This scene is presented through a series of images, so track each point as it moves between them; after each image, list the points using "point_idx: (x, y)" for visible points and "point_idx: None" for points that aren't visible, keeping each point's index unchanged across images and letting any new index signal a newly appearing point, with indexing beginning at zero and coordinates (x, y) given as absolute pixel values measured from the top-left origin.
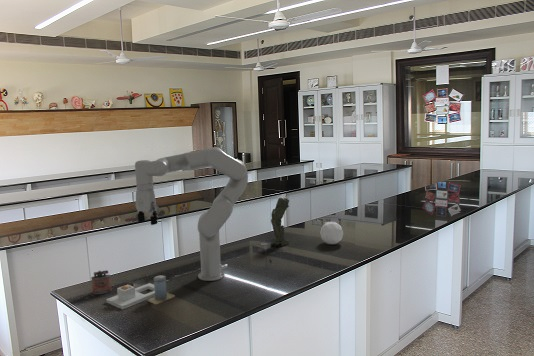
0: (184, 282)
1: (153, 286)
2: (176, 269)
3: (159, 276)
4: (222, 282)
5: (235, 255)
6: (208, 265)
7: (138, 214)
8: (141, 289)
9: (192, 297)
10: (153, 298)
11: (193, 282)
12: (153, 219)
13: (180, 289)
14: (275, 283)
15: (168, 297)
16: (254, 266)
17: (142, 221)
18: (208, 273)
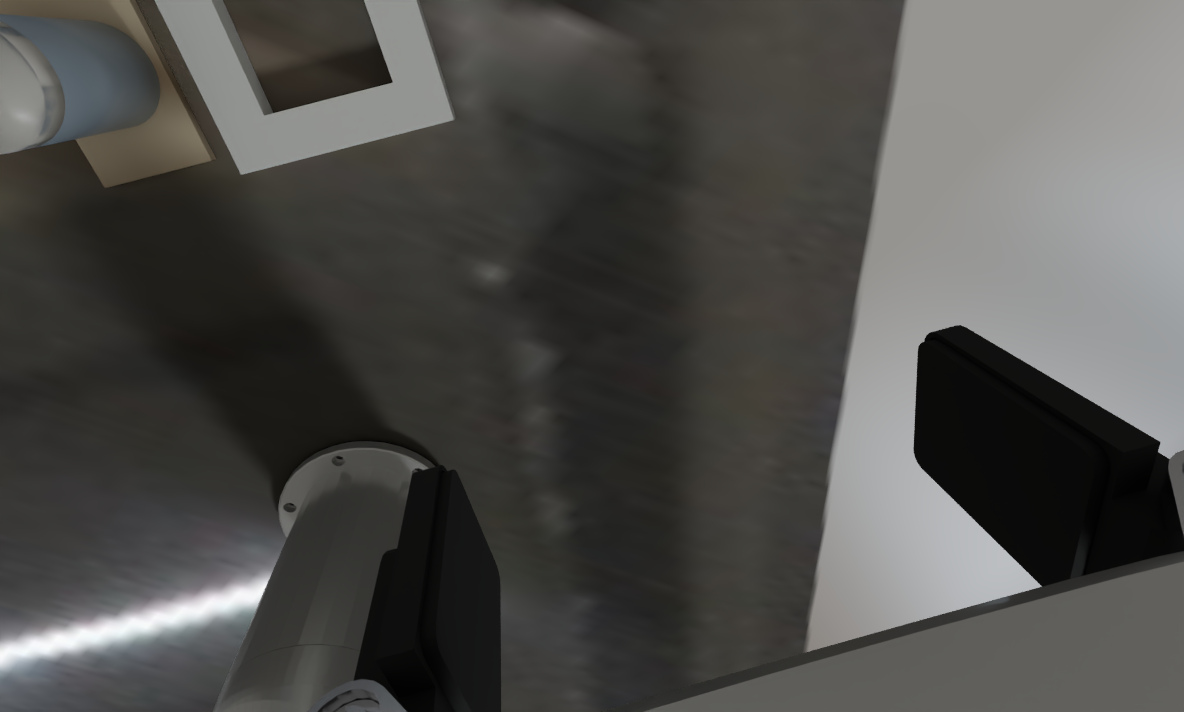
0: (371, 347)
1: (352, 113)
2: (646, 395)
3: (12, 99)
4: (230, 518)
5: (610, 693)
6: (285, 550)
7: (1111, 446)
8: (367, 5)
9: (36, 281)
10: (113, 11)
11: (335, 391)
12: (373, 620)
13: (248, 275)
14: (62, 699)
15: None
16: None
17: (921, 410)
18: (304, 505)
